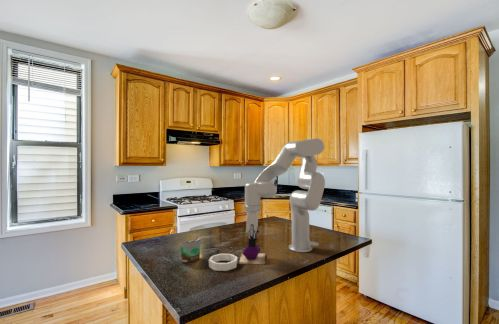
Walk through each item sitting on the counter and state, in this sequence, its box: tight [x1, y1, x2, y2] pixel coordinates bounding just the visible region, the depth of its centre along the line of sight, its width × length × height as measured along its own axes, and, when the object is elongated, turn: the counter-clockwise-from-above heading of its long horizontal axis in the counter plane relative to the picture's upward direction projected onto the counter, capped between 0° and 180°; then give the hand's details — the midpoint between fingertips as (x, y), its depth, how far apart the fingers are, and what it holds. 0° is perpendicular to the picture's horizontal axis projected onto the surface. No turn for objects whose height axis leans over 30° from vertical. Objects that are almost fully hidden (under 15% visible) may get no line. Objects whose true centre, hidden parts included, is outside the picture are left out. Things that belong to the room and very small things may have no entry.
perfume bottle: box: [242, 226, 262, 260], centre depth 124 cm, size 8×8×18 cm
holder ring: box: [208, 253, 238, 272], centre depth 117 cm, size 12×12×3 cm
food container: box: [179, 236, 203, 265], centre depth 122 cm, size 12×6×10 cm, turn 148°
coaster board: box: [238, 252, 266, 265], centre depth 124 cm, size 12×12×1 cm
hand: (252, 243), depth 124 cm, fingers open, 9 cm apart
